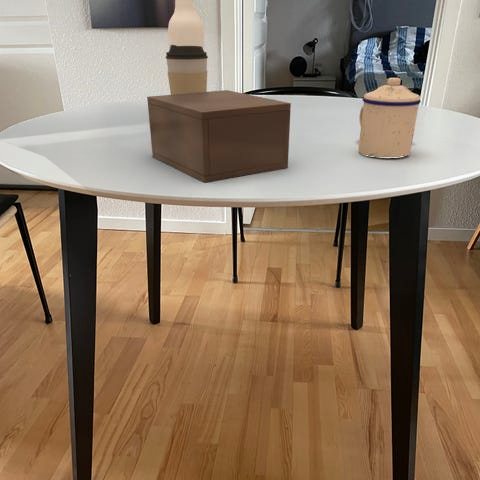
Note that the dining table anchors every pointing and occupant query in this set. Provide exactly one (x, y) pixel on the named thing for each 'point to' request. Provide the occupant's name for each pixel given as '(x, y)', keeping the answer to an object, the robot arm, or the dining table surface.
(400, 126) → the teacup with lid
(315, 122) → the dining table surface
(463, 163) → the dining table surface
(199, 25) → the alcohol
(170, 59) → the coffee cup
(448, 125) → the dining table surface
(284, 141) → the cabinet
